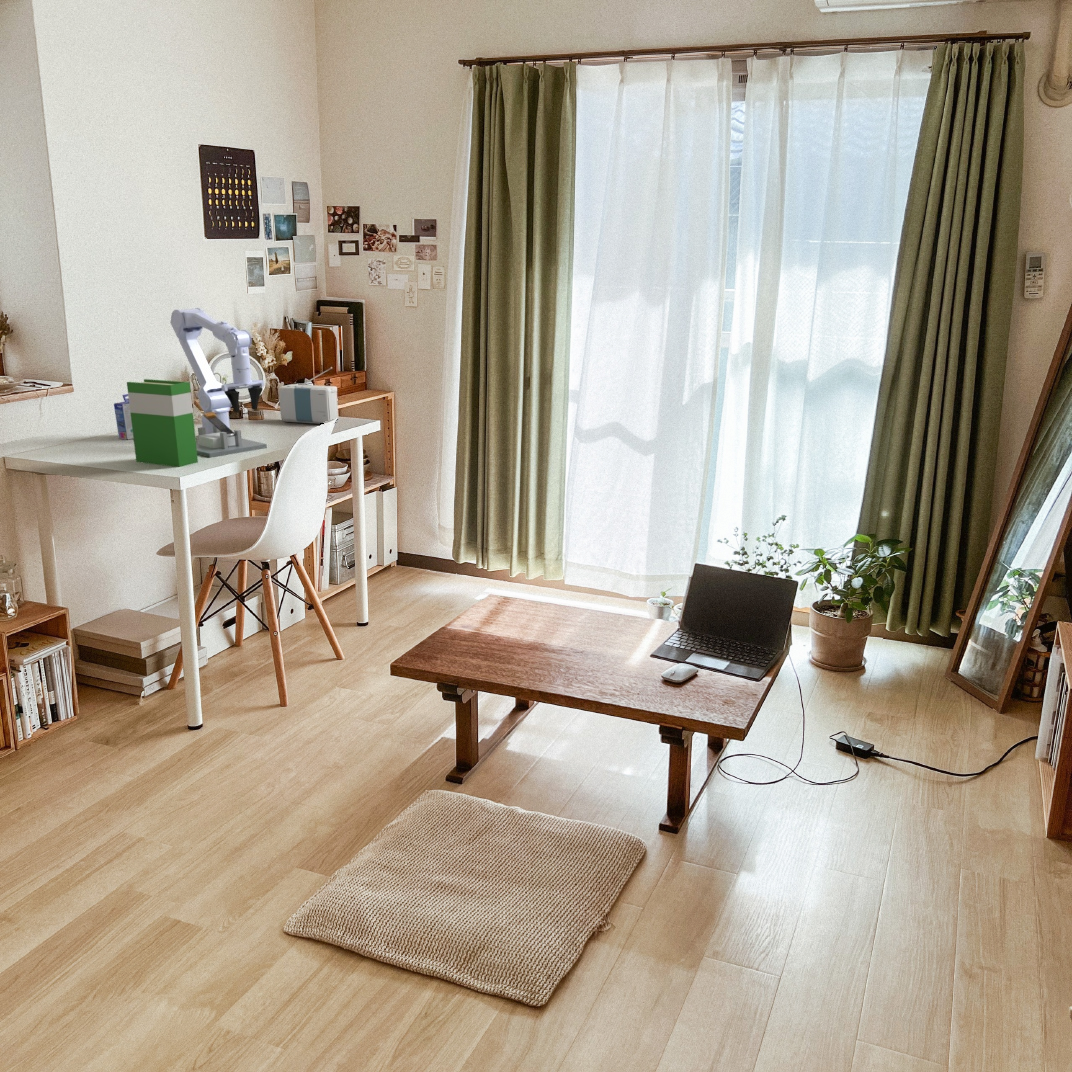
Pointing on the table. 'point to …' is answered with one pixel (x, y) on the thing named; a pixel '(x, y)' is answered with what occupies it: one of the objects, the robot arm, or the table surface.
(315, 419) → the stereo radio cassette player
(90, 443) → the table surface
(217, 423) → the clamp bar
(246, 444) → the board
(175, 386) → the hardback book
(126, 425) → the ink cartridge box
